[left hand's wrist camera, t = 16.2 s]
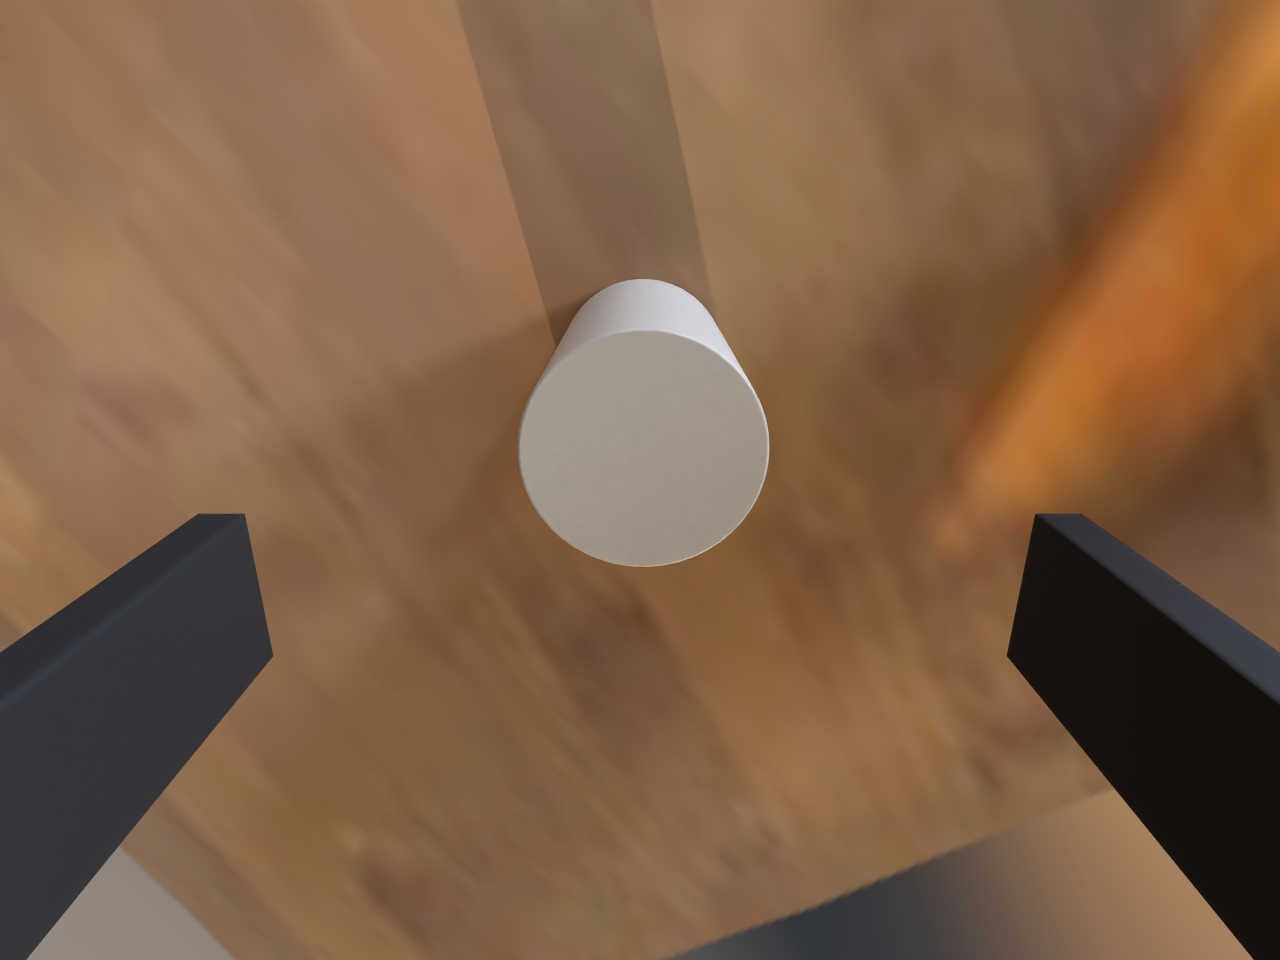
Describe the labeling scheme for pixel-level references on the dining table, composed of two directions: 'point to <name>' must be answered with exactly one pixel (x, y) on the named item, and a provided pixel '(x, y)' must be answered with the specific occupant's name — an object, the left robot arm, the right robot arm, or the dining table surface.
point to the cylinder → (643, 430)
